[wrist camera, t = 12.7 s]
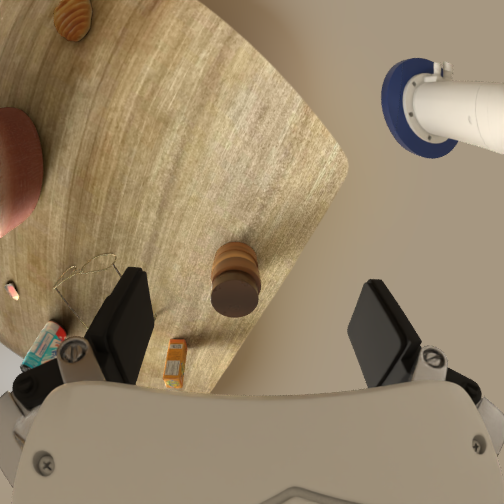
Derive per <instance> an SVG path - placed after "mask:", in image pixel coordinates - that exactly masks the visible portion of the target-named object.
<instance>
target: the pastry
mask: <svg viewBox="0 0 504 504" xmlns="http://www.w3.org/2000/svg"><path fill="white" fill-rule="evenodd" d="M92 13H93V11H92V6H91V3H90V0H62V1H61V2H60V3H59V4H58V6H57V7H56V8H55V10H54V13H53V14H54V25H55V27H56V30H57V32H58V33H59V34H60V35H61V36H63V37H65V38H66V39H67V40H68V41H74V42H77V41H79V40H80V39H82V38H83V37H84V36H85V35H86V34H87V32H88V31H89V29H90V24H91V17H92Z"/></svg>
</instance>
